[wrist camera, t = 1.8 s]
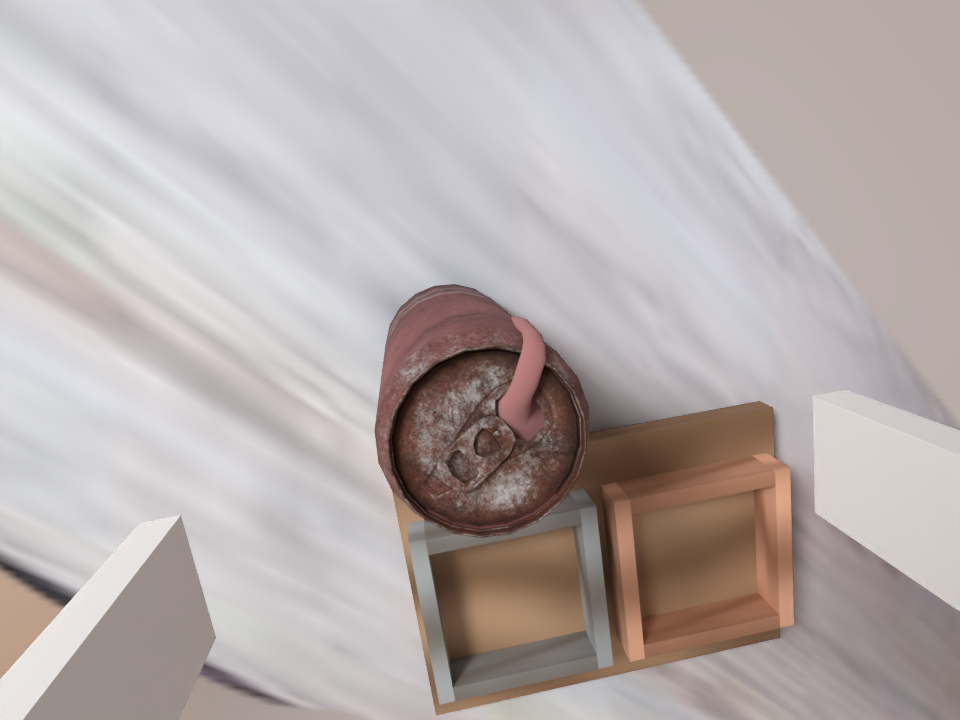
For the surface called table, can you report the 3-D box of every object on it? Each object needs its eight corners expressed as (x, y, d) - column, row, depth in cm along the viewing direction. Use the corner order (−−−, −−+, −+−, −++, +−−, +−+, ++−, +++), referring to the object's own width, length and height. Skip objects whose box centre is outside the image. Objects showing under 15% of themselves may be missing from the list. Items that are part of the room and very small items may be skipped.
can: (525, 295, 29) (631, 353, 16) (492, 415, 31) (565, 567, 17) (404, 264, 28) (406, 297, 15) (374, 390, 29) (351, 530, 16)
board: (390, 470, 30) (389, 497, 27) (759, 401, 32) (797, 419, 29) (434, 698, 34) (438, 746, 31) (767, 623, 36) (802, 662, 32)
